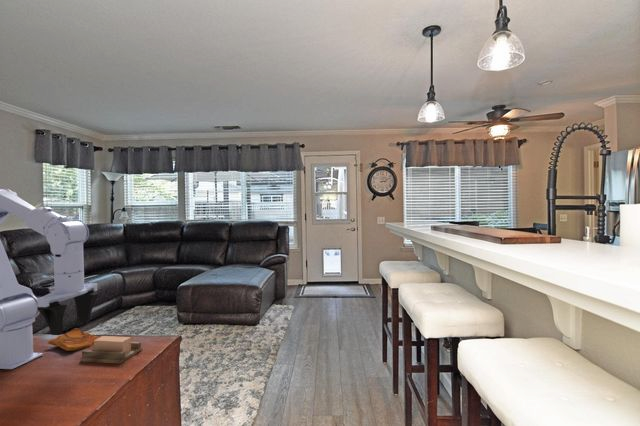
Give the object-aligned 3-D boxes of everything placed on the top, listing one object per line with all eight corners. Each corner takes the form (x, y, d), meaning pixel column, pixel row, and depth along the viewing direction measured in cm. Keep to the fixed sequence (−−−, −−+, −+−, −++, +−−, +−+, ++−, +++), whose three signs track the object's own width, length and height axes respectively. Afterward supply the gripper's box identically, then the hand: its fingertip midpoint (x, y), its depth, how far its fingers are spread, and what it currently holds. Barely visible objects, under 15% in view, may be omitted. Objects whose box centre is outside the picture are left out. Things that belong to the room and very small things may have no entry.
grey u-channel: (80, 361, 84) (80, 352, 84) (105, 347, 92) (104, 339, 92) (121, 363, 83) (120, 354, 83) (142, 349, 91) (142, 341, 91)
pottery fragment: (75, 327, 100) (102, 324, 98) (78, 342, 101) (105, 339, 98) (40, 341, 91) (69, 338, 88) (43, 358, 91) (72, 356, 88)
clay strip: (94, 354, 87) (93, 340, 87) (103, 349, 90) (102, 335, 90) (122, 355, 86) (122, 341, 85) (131, 350, 89) (130, 337, 88)
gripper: (56, 278, 73) (58, 341, 73) (107, 266, 87) (108, 318, 88) (28, 278, 74) (30, 339, 74) (82, 265, 88) (84, 317, 89)
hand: (70, 328), depth 81 cm, fingers open, 7 cm apart
